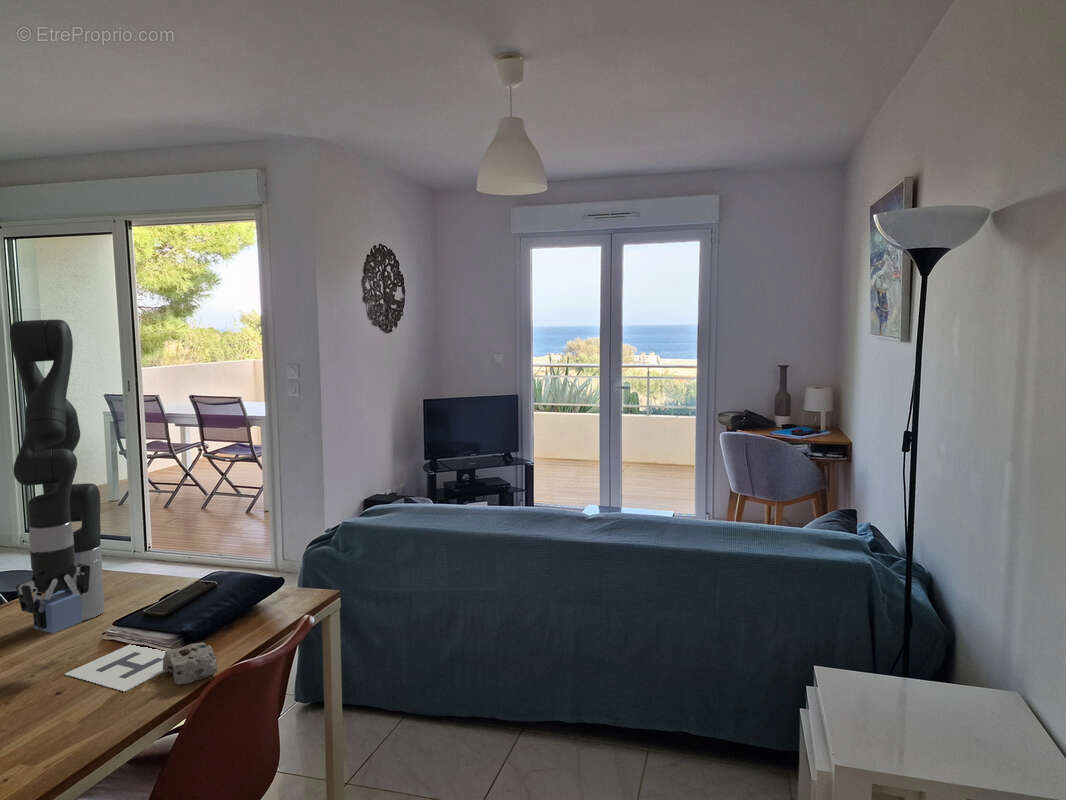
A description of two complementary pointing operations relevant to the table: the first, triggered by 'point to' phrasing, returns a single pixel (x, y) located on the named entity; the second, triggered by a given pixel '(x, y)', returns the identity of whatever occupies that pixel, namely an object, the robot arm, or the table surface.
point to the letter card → (122, 668)
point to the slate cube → (62, 611)
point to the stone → (190, 663)
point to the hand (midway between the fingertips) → (57, 621)
